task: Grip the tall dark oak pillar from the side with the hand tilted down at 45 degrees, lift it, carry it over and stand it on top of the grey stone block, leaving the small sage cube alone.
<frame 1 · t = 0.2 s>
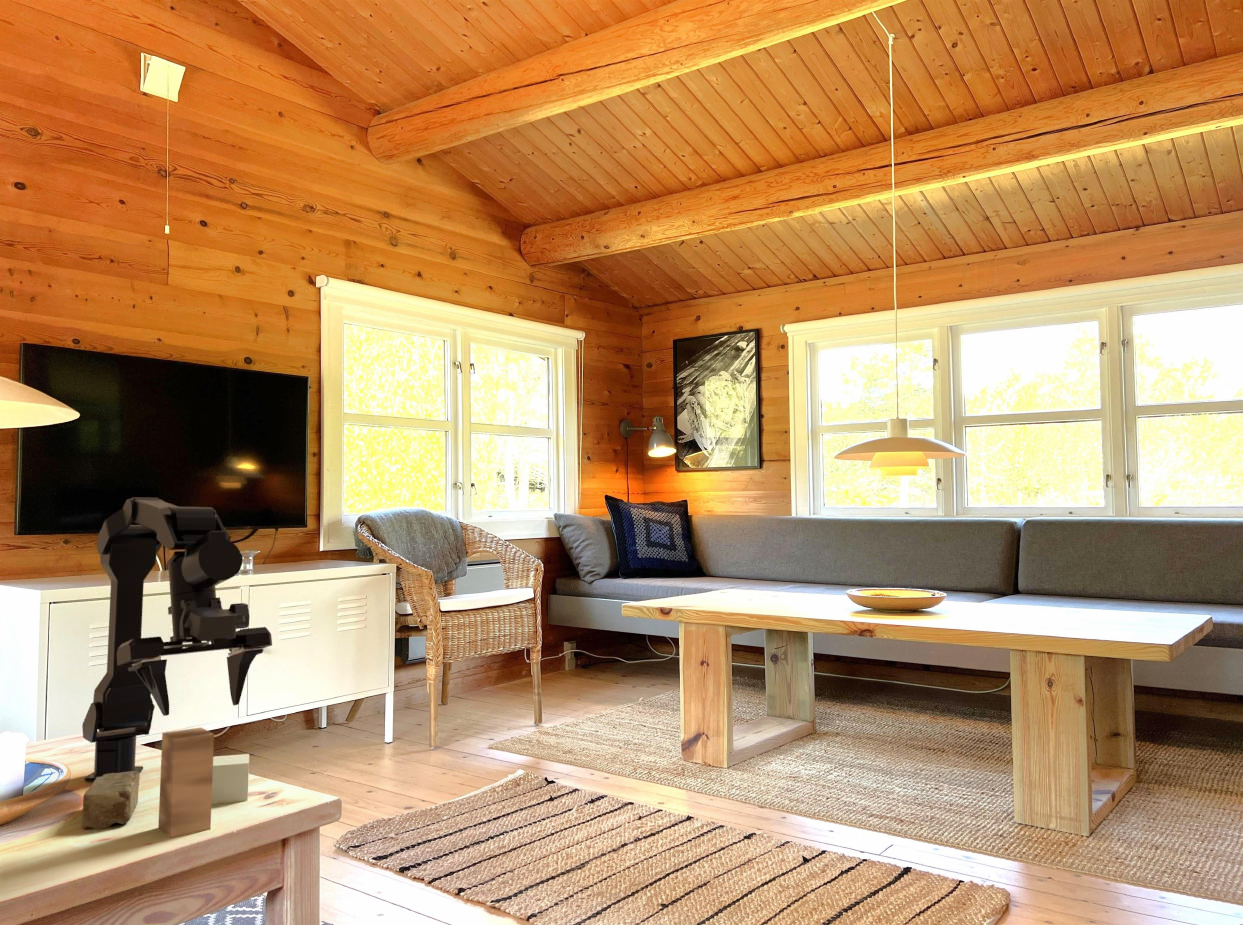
hand: (202, 710, 125), 16 cm above the table, tool pointing down, fingers open, 9 cm apart
sage cube: (227, 797, 138), on the table
oak pillar: (184, 828, 124), on the table
stone block: (111, 818, 129), on the table
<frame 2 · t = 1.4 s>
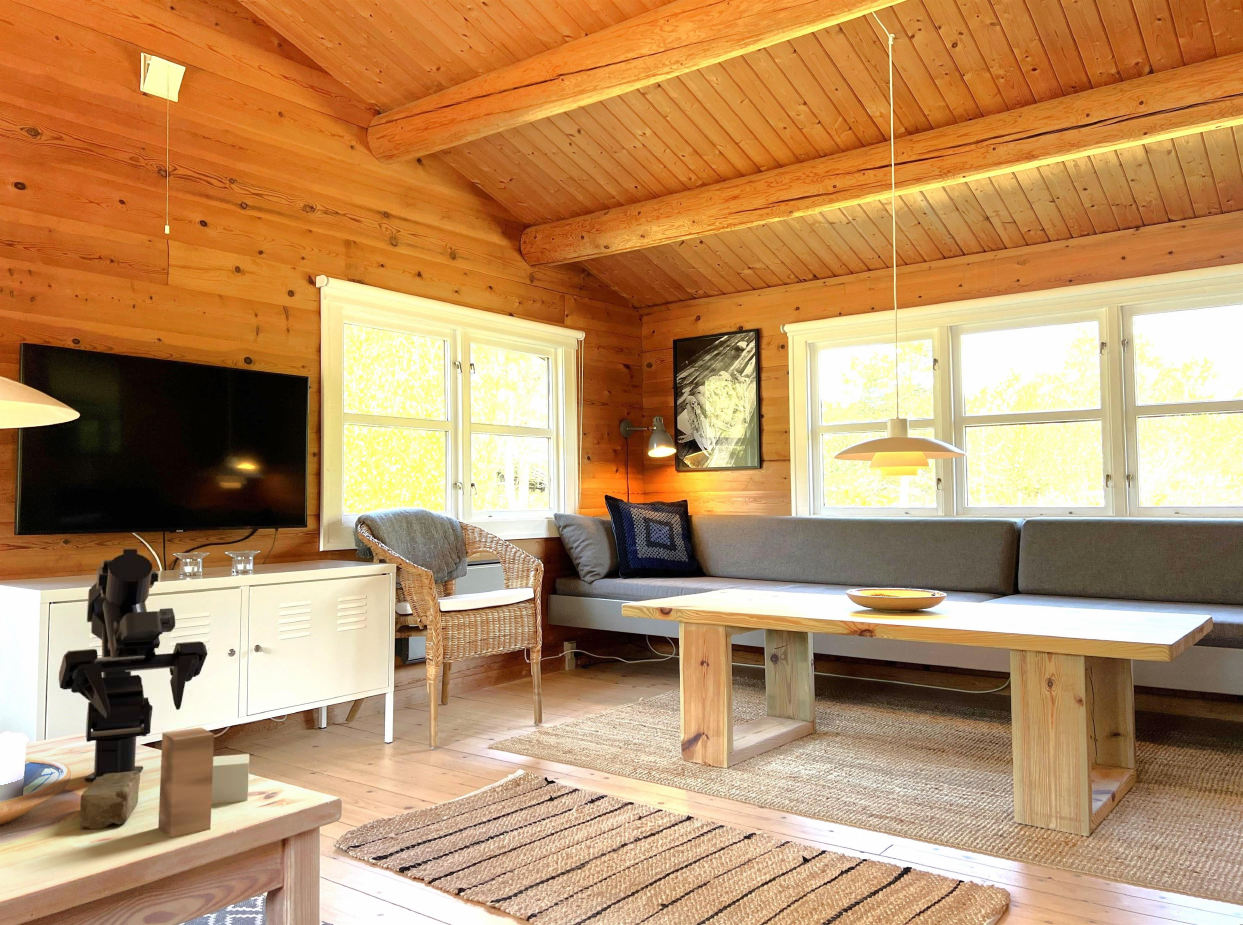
hand: (144, 712, 132), 14 cm above the table, tool tilted 45°, fingers open, 9 cm apart
nothing on the table moved.
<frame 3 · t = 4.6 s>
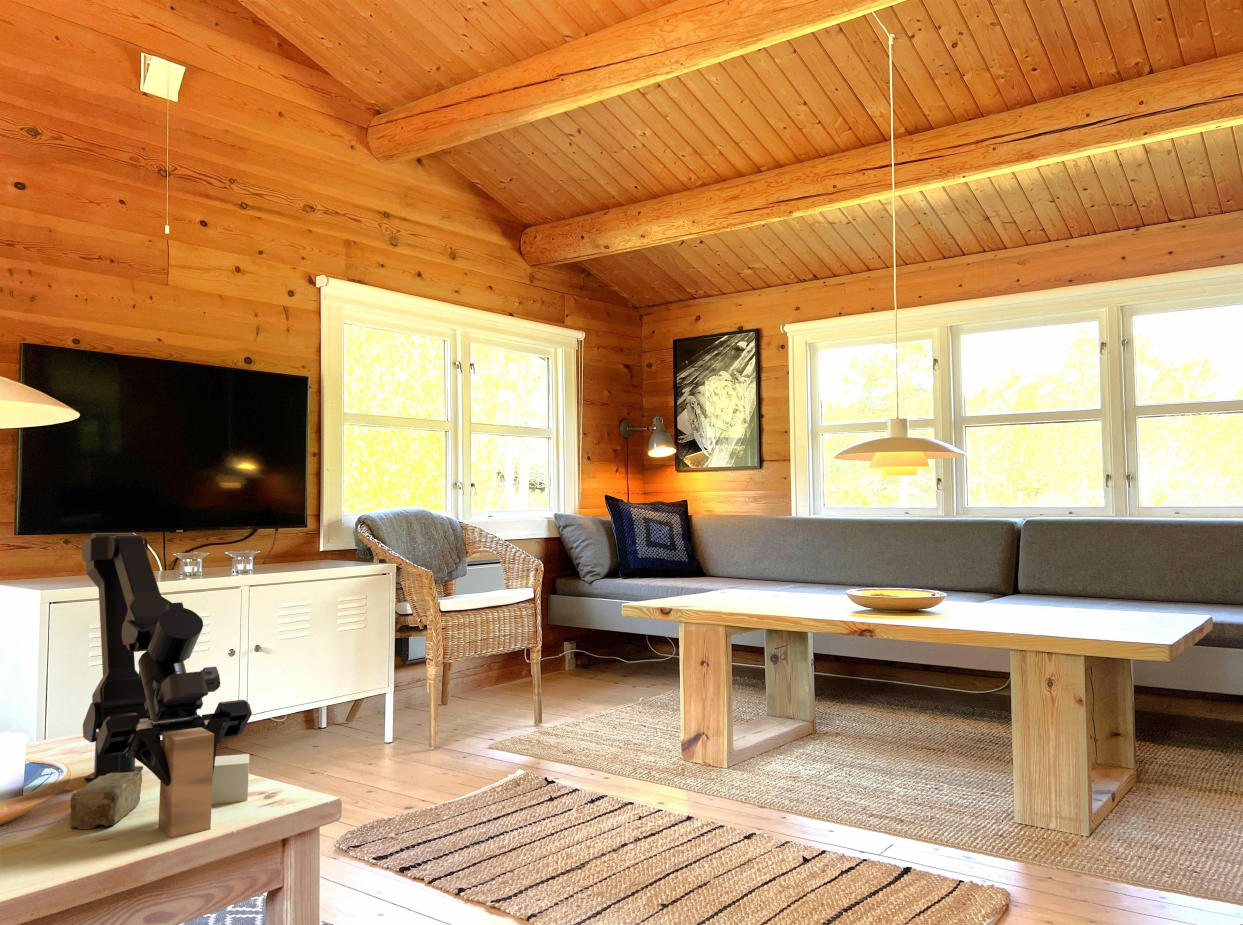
hand: (190, 780, 124), 7 cm above the table, tool tilted 45°, fingers closed on oak pillar, 5 cm apart
oak pillar: (184, 828, 124), on the table, touching gripper
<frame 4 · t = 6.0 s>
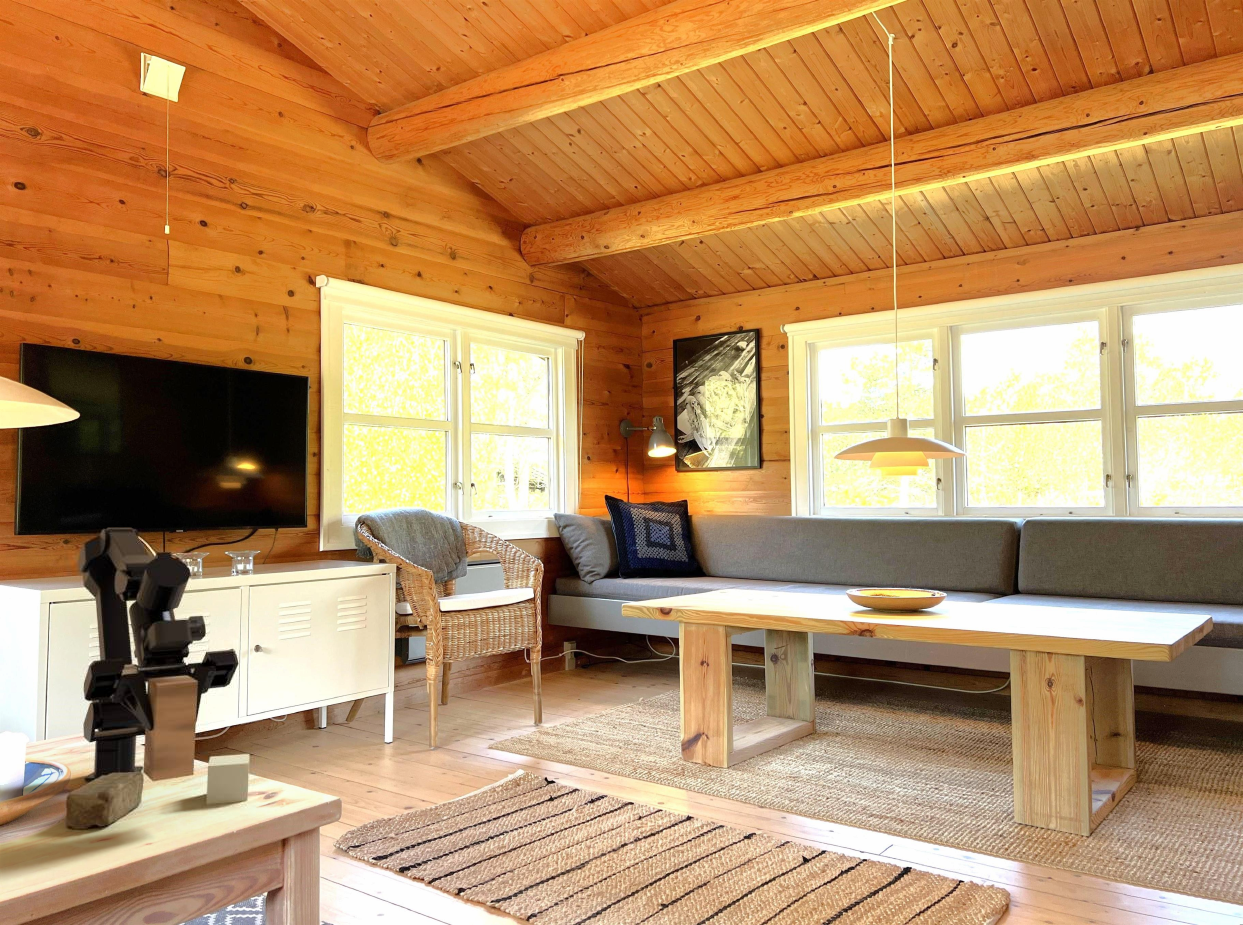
hand: (173, 726, 125), 13 cm above the table, tool tilted 45°, fingers closed on oak pillar, 5 cm apart
oak pillar: (168, 773, 126), point 7 cm above the table, touching gripper
when the fingers open (12 cm above the table, at t = 7.4 s): oak pillar drops 1 cm, resting on stone block.
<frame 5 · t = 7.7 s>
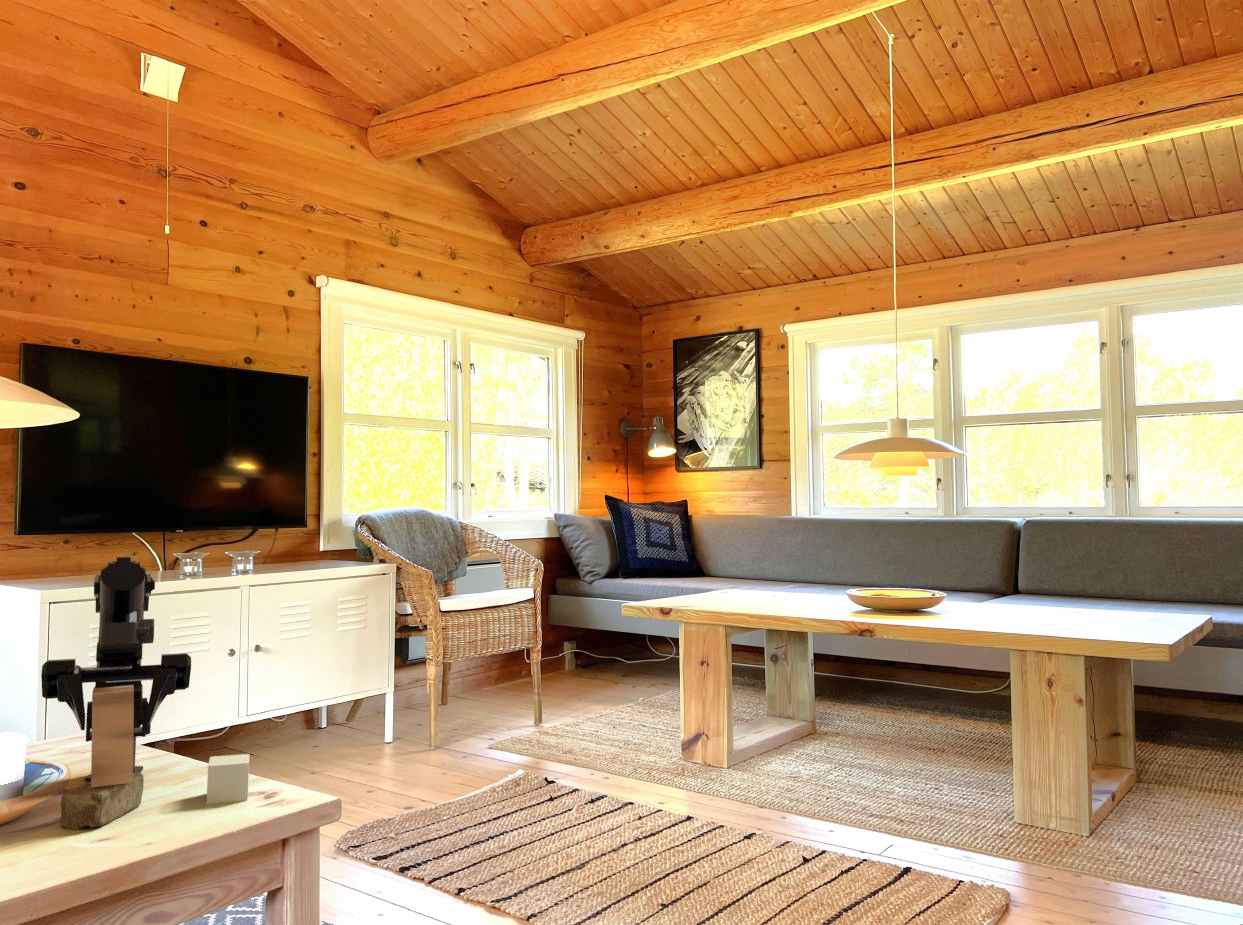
hand: (116, 725, 128), 13 cm above the table, tool tilted 45°, fingers open, 8 cm apart
oak pillar: (112, 780, 129), point 5 cm above the table, touching stone block
stone block: (102, 819, 129), on the table, touching oak pillar
everything else where it was.
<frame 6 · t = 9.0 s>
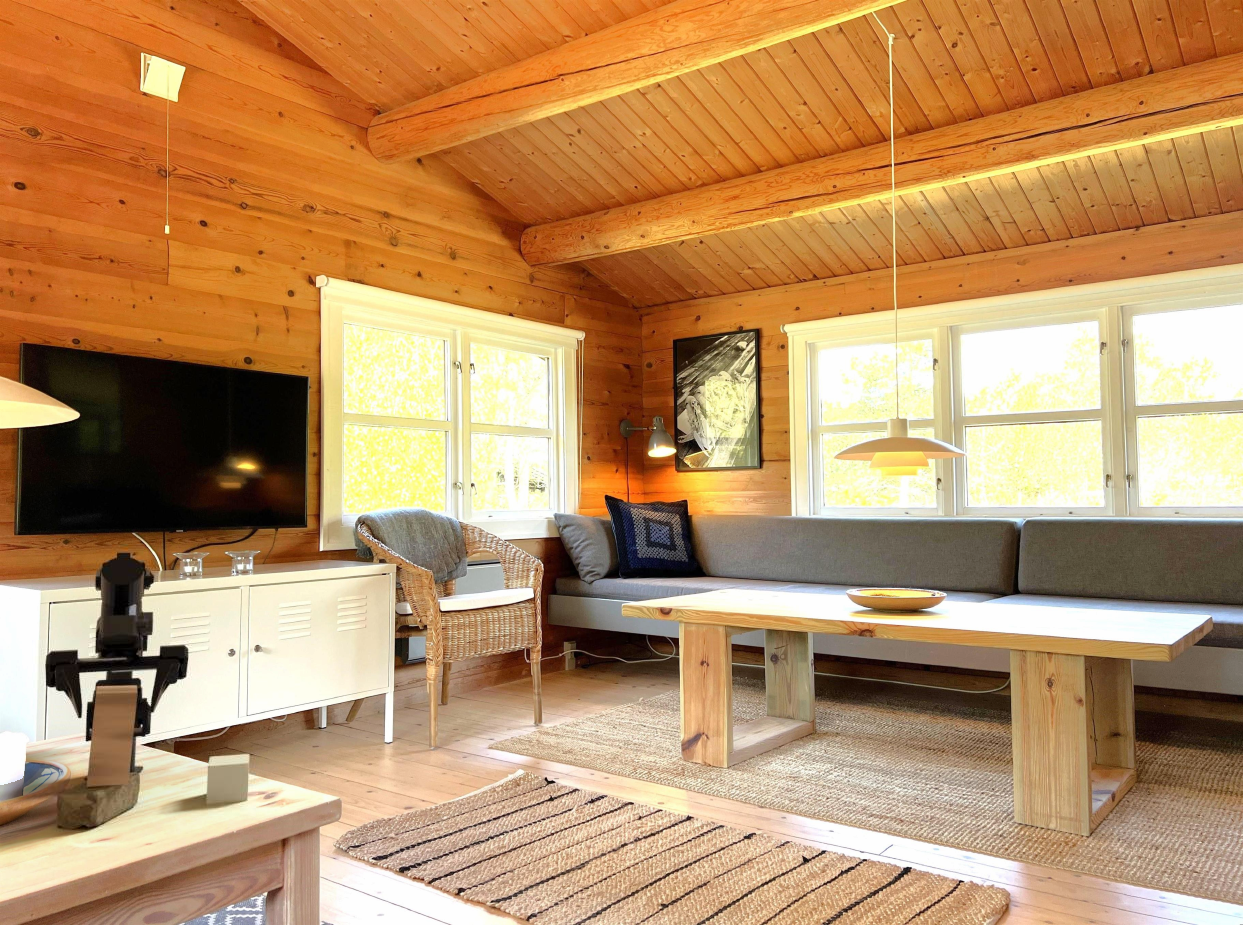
hand: (116, 713, 135), 13 cm above the table, tool tilted 45°, fingers open, 9 cm apart
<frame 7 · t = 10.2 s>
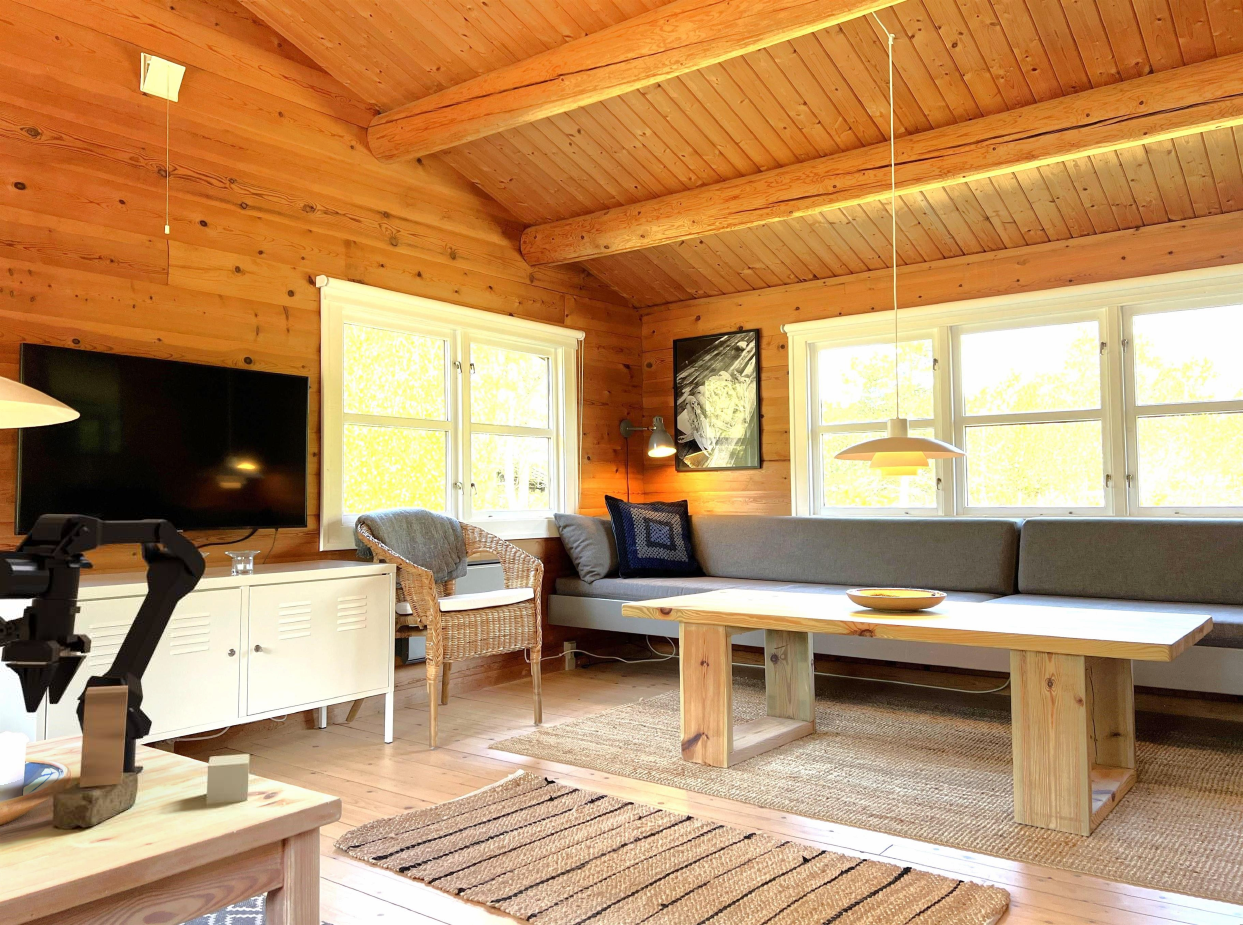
hand: (42, 708, 135), 13 cm above the table, tool pointing down, fingers open, 9 cm apart
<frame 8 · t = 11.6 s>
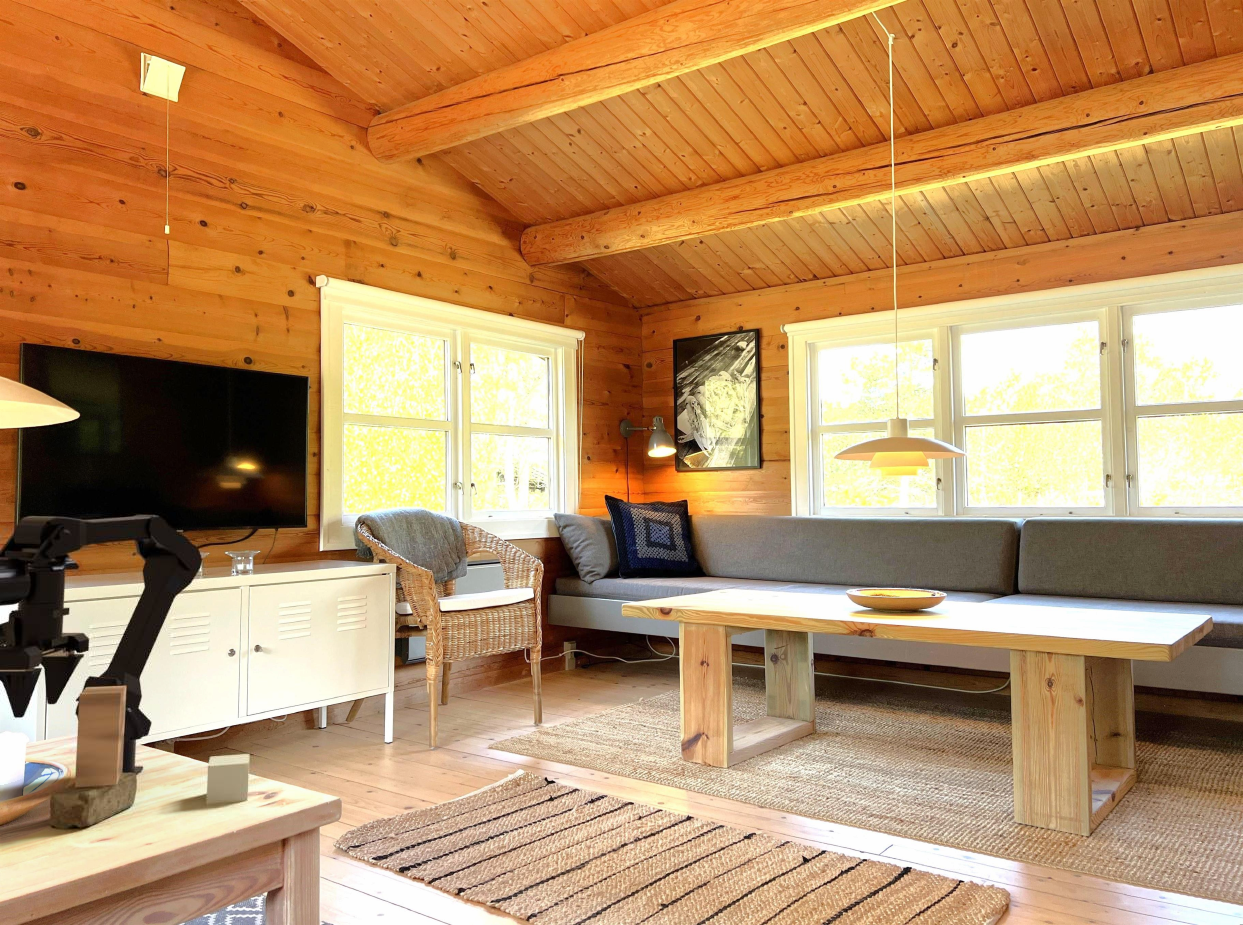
hand: (35, 710, 135), 13 cm above the table, tool pointing down, fingers open, 9 cm apart
at the end: oak pillar inside the target area on the stone block (0.4 cm from its centre), point 5.1 cm above the stone block's base; oak pillar tilted 0°; the gripper is holding nothing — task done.
